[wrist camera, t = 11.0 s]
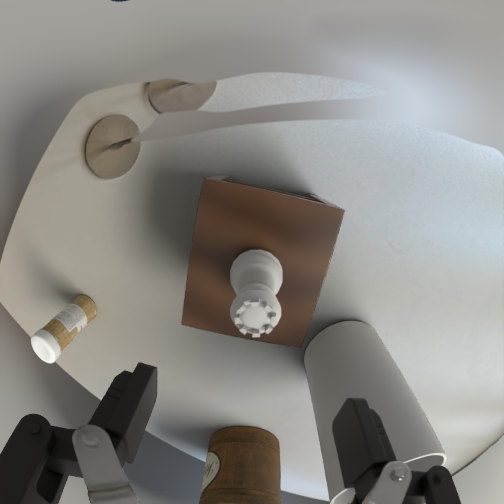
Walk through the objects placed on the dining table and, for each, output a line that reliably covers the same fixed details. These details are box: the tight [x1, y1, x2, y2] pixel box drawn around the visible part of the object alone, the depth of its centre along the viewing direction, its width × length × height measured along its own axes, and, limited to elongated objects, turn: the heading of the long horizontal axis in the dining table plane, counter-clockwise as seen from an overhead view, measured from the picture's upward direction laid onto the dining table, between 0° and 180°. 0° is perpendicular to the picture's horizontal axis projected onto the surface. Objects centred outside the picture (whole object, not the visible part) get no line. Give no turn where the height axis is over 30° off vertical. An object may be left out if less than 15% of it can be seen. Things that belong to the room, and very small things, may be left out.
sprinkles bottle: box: [31, 295, 97, 363], centre depth 33 cm, size 5×5×14 cm
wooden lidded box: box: [182, 175, 345, 348], centre depth 30 cm, size 14×12×12 cm
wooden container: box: [199, 427, 281, 504], centre depth 38 cm, size 15×15×22 cm
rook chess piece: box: [230, 250, 282, 337], centre depth 20 cm, size 4×4×8 cm
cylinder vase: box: [304, 321, 447, 504], centre depth 29 cm, size 12×12×25 cm
